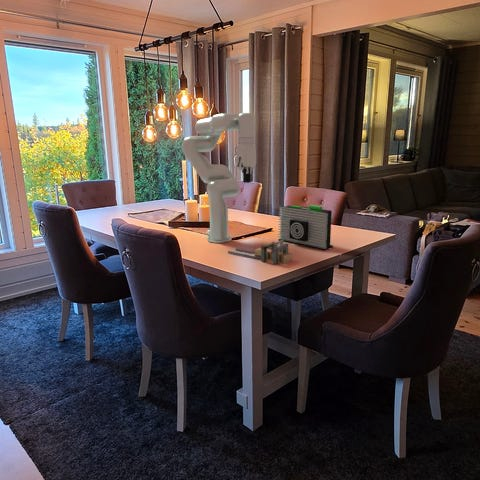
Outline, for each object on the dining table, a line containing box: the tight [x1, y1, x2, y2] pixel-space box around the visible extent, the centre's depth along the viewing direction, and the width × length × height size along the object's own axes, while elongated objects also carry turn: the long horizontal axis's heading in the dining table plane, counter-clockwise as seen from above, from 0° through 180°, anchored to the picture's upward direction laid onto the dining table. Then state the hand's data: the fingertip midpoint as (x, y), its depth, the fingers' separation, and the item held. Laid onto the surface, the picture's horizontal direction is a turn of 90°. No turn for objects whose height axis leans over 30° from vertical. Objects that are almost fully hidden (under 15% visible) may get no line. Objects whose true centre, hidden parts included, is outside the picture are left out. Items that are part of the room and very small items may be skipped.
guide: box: [227, 247, 261, 261], centre depth 185 cm, size 19×7×1 cm, turn 53°
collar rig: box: [260, 240, 289, 265], centre depth 176 cm, size 8×11×8 cm
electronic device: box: [277, 204, 334, 252], centre depth 200 cm, size 28×11×20 cm, turn 45°
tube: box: [254, 247, 292, 265], centre depth 178 cm, size 16×4×4 cm, turn 52°
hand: (246, 182), depth 187 cm, fingers closed
